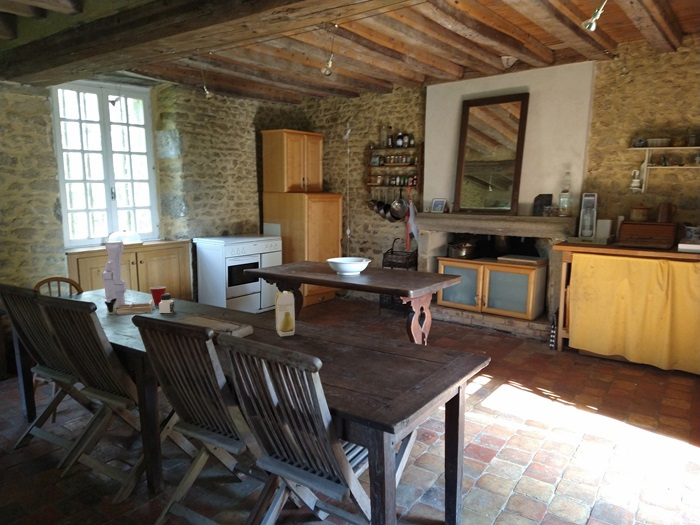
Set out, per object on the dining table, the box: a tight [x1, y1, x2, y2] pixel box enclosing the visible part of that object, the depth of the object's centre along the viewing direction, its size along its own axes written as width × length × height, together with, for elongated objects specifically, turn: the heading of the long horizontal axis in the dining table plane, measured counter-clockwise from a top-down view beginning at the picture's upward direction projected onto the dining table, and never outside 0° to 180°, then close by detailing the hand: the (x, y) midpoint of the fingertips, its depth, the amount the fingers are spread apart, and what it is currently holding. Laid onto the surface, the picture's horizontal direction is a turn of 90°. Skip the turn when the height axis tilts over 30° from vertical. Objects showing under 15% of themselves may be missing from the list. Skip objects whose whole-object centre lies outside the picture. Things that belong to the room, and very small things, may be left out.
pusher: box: [128, 300, 135, 308], centre depth 314 cm, size 9×1×5 cm, turn 16°
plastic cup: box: [149, 285, 167, 306], centre depth 333 cm, size 11×11×12 cm
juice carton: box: [274, 290, 296, 337], centre depth 262 cm, size 9×8×24 cm
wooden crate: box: [116, 299, 154, 316], centre depth 314 cm, size 12×20×6 cm, turn 106°
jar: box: [106, 302, 117, 315], centre depth 309 cm, size 5×5×7 cm
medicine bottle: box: [158, 293, 175, 314], centre depth 310 cm, size 7×7×12 cm
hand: (111, 311), depth 309 cm, fingers closed on jar, 5 cm apart
